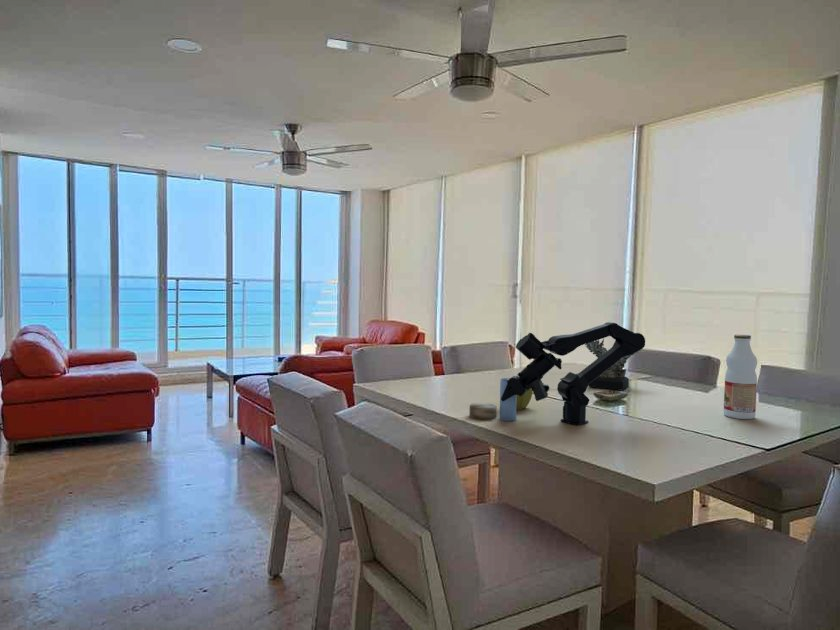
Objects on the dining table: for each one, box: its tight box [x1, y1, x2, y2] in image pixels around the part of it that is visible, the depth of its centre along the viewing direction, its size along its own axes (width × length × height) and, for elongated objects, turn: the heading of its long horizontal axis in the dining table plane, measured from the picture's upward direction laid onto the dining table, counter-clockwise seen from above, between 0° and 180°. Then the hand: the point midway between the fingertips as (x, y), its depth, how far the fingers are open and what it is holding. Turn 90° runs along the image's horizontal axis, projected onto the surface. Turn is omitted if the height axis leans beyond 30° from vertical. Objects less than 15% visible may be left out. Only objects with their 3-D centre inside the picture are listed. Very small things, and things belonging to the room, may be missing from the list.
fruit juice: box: [723, 334, 758, 420], centre depth 183 cm, size 9×9×28 cm
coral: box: [584, 338, 639, 391], centre depth 237 cm, size 25×18×21 cm
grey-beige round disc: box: [469, 402, 498, 421], centre depth 180 cm, size 9×9×4 cm
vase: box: [499, 377, 517, 422], centre depth 176 cm, size 5×5×13 cm
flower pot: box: [516, 388, 533, 410], centre depth 193 cm, size 9×9×9 cm
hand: (504, 398), depth 177 cm, fingers closed on vase, 5 cm apart
